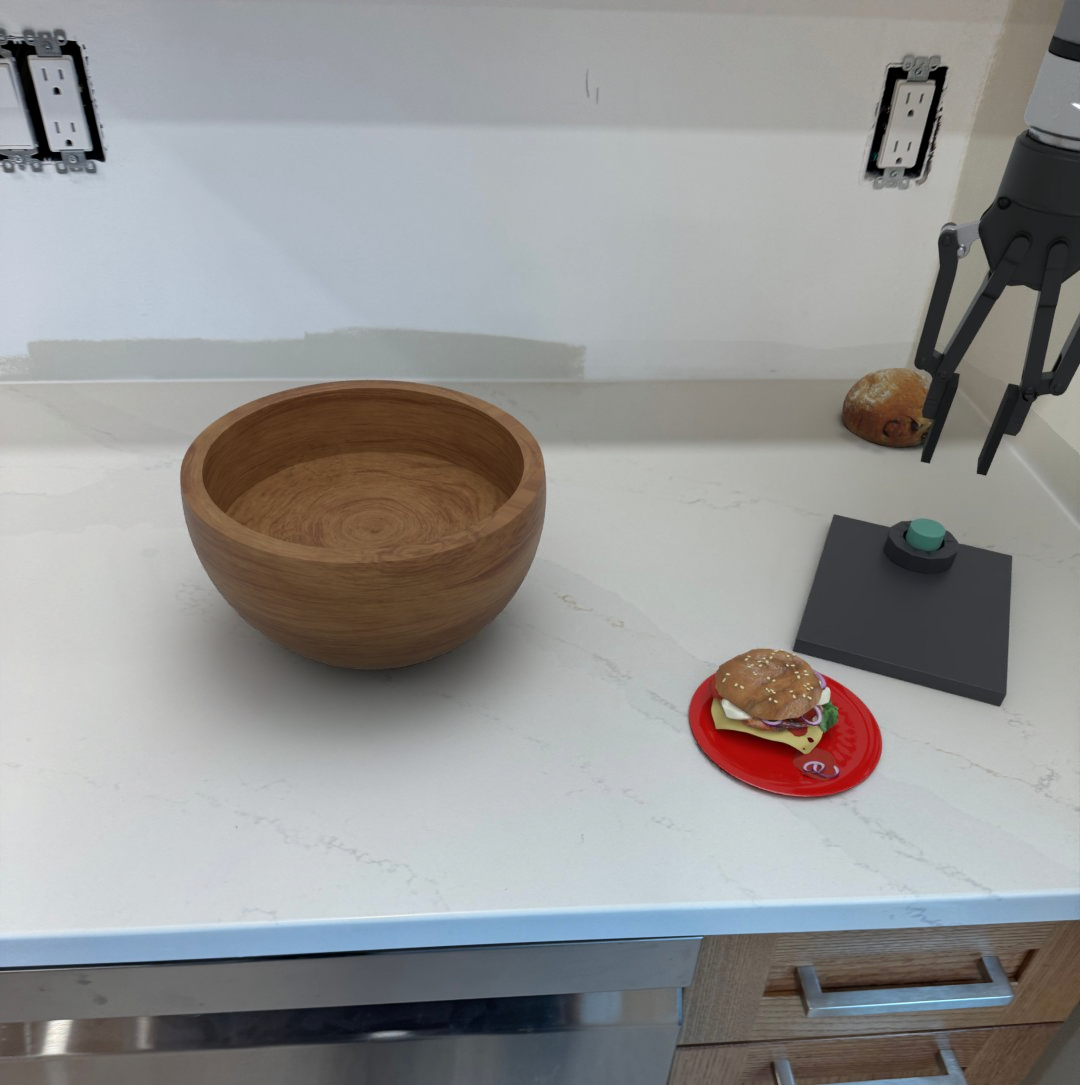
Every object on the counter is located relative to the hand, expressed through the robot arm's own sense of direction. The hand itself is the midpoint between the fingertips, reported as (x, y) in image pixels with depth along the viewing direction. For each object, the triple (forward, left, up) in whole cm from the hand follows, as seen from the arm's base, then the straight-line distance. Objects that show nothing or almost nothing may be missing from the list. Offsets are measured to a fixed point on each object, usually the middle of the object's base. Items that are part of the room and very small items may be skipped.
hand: (954, 460), depth 79 cm
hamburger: (+7, +25, -11) cm, 29 cm away
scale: (0, +6, -11) cm, 12 cm away
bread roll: (+5, -27, -11) cm, 29 cm away
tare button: (0, 0, -8) cm, 8 cm away
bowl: (+39, +27, -11) cm, 49 cm away
